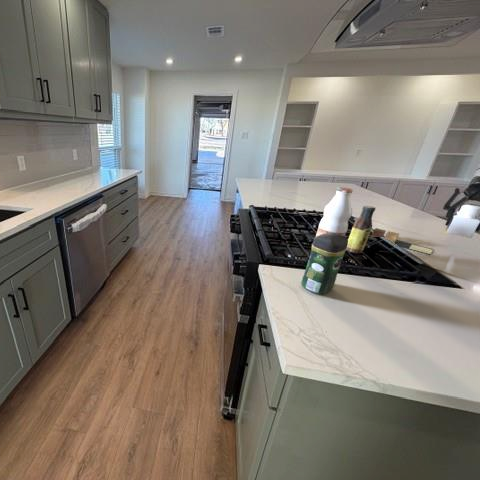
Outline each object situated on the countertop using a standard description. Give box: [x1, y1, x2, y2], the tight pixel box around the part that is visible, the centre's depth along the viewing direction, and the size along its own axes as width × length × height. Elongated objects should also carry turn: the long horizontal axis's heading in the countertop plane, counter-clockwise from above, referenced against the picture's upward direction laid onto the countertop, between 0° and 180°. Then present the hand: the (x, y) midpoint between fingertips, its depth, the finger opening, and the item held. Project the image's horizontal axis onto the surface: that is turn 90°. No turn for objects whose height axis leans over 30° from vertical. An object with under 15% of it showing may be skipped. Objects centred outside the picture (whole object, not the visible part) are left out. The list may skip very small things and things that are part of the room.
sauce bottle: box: [346, 205, 376, 254], centre depth 106 cm, size 7×6×20 cm
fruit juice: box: [315, 186, 354, 237], centre depth 99 cm, size 9×9×28 cm
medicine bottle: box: [445, 203, 480, 239], centre depth 101 cm, size 7×7×12 cm
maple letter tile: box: [384, 230, 400, 243], centre depth 120 cm, size 4×4×4 cm
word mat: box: [367, 235, 434, 256], centre depth 118 cm, size 22×10×1 cm, turn 39°
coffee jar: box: [300, 232, 348, 295], centre depth 79 cm, size 10×8×19 cm
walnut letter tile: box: [370, 227, 387, 239], centre depth 123 cm, size 4×4×4 cm
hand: (462, 226), depth 100 cm, fingers closed on medicine bottle, 7 cm apart
